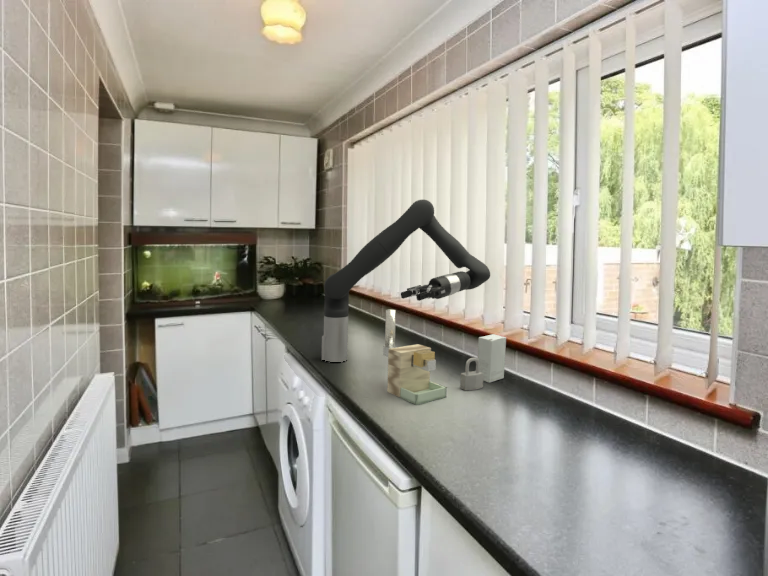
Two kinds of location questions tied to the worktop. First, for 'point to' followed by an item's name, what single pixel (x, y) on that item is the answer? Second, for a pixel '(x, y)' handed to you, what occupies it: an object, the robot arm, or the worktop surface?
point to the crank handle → (390, 341)
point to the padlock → (471, 377)
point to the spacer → (422, 357)
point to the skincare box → (491, 357)
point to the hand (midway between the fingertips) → (409, 296)
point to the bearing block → (406, 370)
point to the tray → (424, 394)
